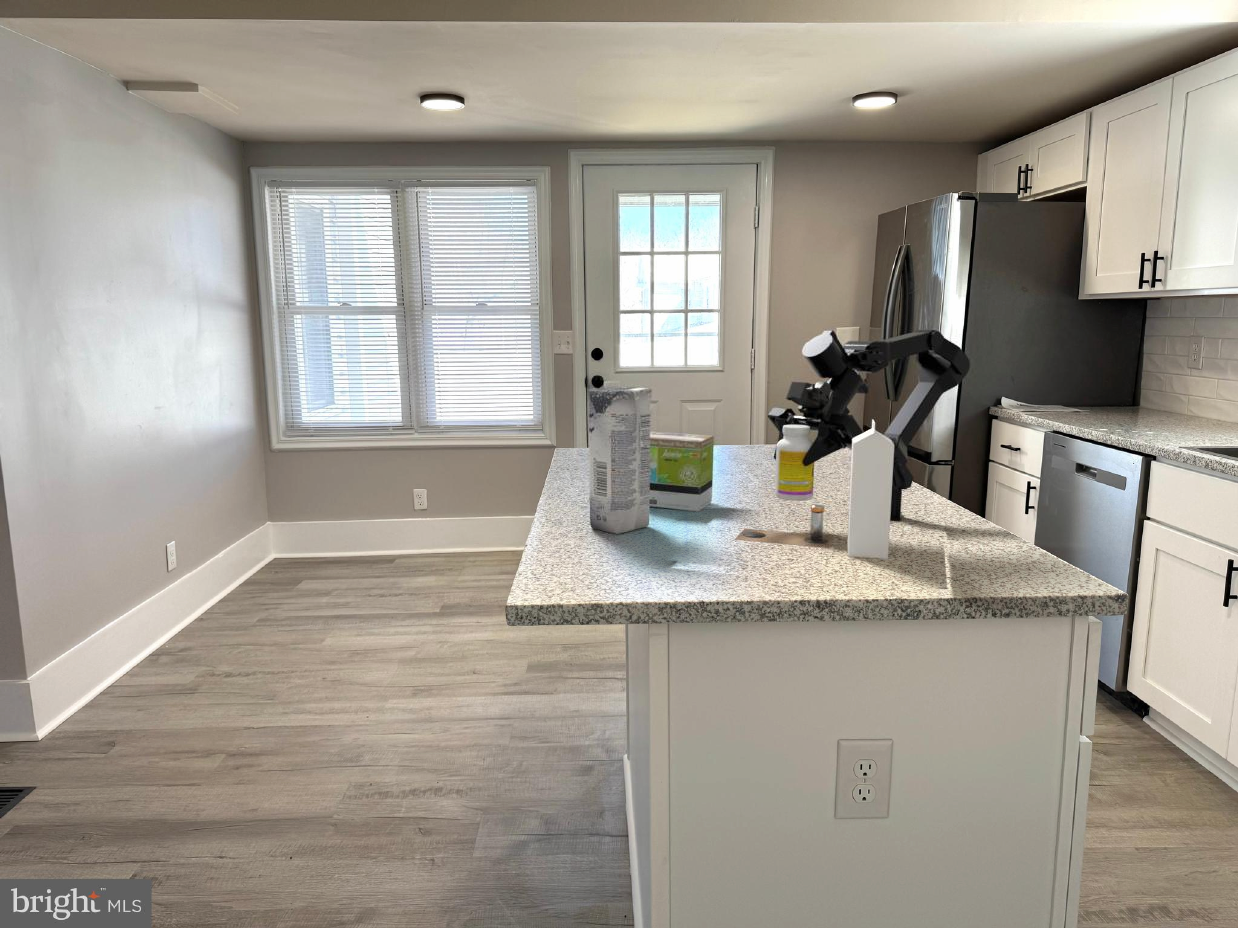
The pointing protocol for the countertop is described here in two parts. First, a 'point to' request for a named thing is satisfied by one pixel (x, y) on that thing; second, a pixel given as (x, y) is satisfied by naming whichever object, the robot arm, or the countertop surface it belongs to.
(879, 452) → the milk
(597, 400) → the juice carton
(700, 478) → the tea box
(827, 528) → the countertop surface
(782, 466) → the supplement bottle
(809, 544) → the plate
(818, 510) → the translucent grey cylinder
